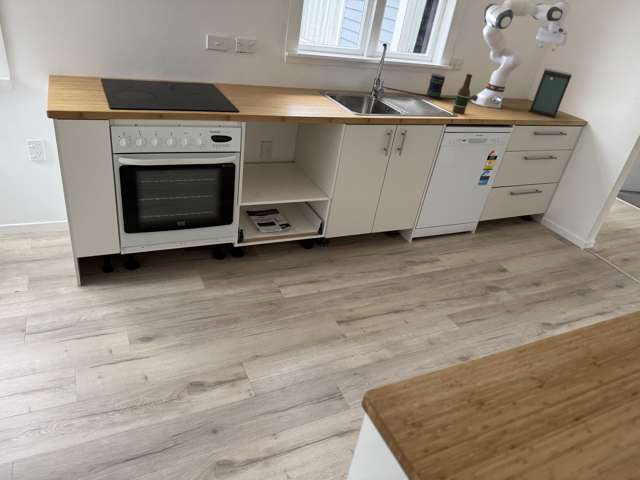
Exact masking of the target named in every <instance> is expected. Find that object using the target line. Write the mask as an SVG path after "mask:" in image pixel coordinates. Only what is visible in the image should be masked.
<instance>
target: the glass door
mask: <svg viewBox="0 0 640 480" xmlns="http://www.w3.org/2000/svg"><path fill="white" fill-rule="evenodd" d="M543 73H544V72H543ZM542 76H543V75H542ZM541 78H542V77H541ZM569 79H570V80H571V78H567V77H562V76H558V75H553V74H549V73H544V76H543V78H542V81H541V80H540V81H541V84H540V83H539V84H540V86H539V85H538V86H539V89H538V88H537V89H538V92H537V91H536V92H537V94H536V93H535V95H536V97H535V96H534V97H535V100H534V99H533V100H534V102H533V101H532V103H533V105H532V104H531V105H532V108H531V107H530V108H531V110H533V111H537V112H541V113H545V114H549V115H553V116H555V114H556V112H557V113H558V111H557V109H558V107H559V108H560V106H559V104H560V102H561V103H562V101H561V99H562V97H563V98H564V96H563V94H564V95H565V93H566V91H565V89H566V90H567V88H568V86H567V84H568V85H569V83H570V81H569ZM568 82H569V83H568ZM566 87H567V88H566ZM564 92H565V93H564ZM562 100H563V99H562ZM560 105H561V104H560ZM558 110H559V109H558ZM556 115H557V114H556ZM555 117H556V116H555Z"/></svg>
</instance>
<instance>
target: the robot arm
mask: <svg viewBox="0 0 640 480" xmlns="http://www.w3.org/2000/svg"><path fill="white" fill-rule="evenodd" d="M569 11H570V4H569V3H568V2H565V1H558V2H557V3H554V4H545V3H537V4H533V2H532V0H504V1H503V4H502V5H499V4H497V3H489V4H488V5H487V6H486V7H485V9H484V11H483V17H484V23H485V24H486V25H485V26H484V28H483V29H482V34H483V38H484V41H485V42H486V44H487V45H488V47H489V49H490V53H489V58H490V60H491V61H492V62H494V63H496V64H499V65H500V66H499V68H498V69H496V70H494V71H492V73H491V76H490V79H489V82H488V83H485V84H483V86H484V87H485V88H484V89H483V90H482V91H480V92H479V93H477V94H472V96H470V97H469V100H470V99H471V101H470V102H471V103H473V104H475V105H478V106H481V107H483V108H484V107H485V108H496V109H501V108H502V102H503V97H504V96H503V95H504V91H505V89H506V84H507V81H508V78H509V76H510V75H511V73H513V71H514V70H515V69H517V68H518V67H519V66H521V65H522V63H523V62H524V61H523V60H524V56H523V54H522V52H520V51H518V50H515V49H512V48H509V47H507V44H508V39H507V38H506V36H505V34H504V32H502V30H505V29H507V28H508V27H509V26H510V25H511V23H512V21H513V18H514V16H516V17H526V16H528V15H529V16H532V18H533V19H535V20H537V21H545V22H549V24H548V26H545V25H542V26H540V27H539V29H538V32H537V34H536V36H535V40H536V41H539V49H543V48H544V47H543V46H544V45H543V43H544V42H545V43H550V44H555V47H552V50H551V51H552V52H556V50H557V49H558V48H559V47H560V46H564V45H566V43H567V40H568V33H569V30H568V29H567V28H565V27H564V24H565V20H566V19H567V16H568V14H569ZM383 89H387V90H393V91H398V92H403V93H407V94H413V95H419V96H424V97H427V94H425V93H419V92H414V91H408V90H402V89H398V88H392V87H388V86H383ZM440 99H445V100H447V99H448V100H456V97H446V96H440Z"/></svg>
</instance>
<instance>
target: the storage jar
mask: <svg viewBox="0 0 640 480" xmlns="http://www.w3.org/2000/svg"><path fill="white" fill-rule="evenodd" d="M445 80H446V76H445V75H442V74H437V73H431V76H430V78H429V84H428V87H427V90H426V95H427V96H426V97H427V98H429V99H433V100H440V99H441V98H440V97H441V96H442V90H443V86H444V83H445Z"/></svg>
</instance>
